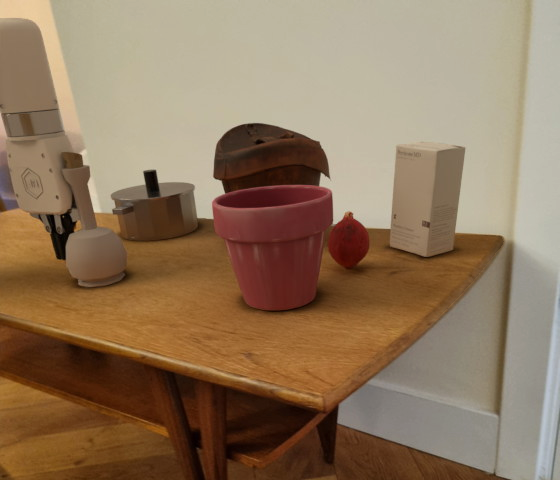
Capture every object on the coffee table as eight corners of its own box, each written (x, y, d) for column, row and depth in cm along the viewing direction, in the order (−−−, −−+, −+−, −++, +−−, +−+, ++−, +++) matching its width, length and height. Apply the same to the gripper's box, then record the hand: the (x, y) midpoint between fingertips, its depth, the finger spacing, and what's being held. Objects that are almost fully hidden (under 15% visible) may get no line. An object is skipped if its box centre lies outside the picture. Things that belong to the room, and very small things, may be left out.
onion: (368, 275, 75) (369, 216, 71) (326, 276, 76) (324, 217, 72) (370, 262, 80) (370, 206, 76) (330, 262, 81) (328, 207, 77)
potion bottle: (58, 287, 80) (21, 156, 72) (96, 268, 87) (67, 146, 79) (107, 291, 77) (75, 155, 69) (143, 270, 84) (118, 145, 76)
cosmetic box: (388, 247, 86) (391, 145, 79) (416, 239, 88) (421, 139, 81) (429, 259, 79) (435, 148, 72) (457, 250, 82) (467, 142, 75)
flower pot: (262, 274, 79) (254, 181, 73) (353, 285, 72) (352, 184, 66) (202, 310, 68) (186, 205, 62) (301, 327, 62) (294, 211, 56)
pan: (95, 241, 102) (85, 203, 99) (164, 216, 117) (158, 181, 114) (155, 247, 96) (147, 206, 92) (220, 219, 111) (216, 183, 107)
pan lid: (93, 203, 101) (87, 177, 99) (150, 187, 113) (145, 163, 111) (159, 207, 94) (154, 179, 92) (211, 188, 106) (208, 163, 104)
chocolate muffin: (304, 259, 83) (297, 131, 75) (199, 249, 93) (182, 134, 84) (351, 229, 97) (350, 117, 88) (255, 223, 106) (245, 121, 97)
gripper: (-25, 130, 76) (15, 260, 84) (50, 128, 69) (85, 269, 78) (20, 124, 81) (54, 247, 90) (94, 121, 75) (122, 254, 83)
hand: (68, 257), depth 84 cm, fingers closed
